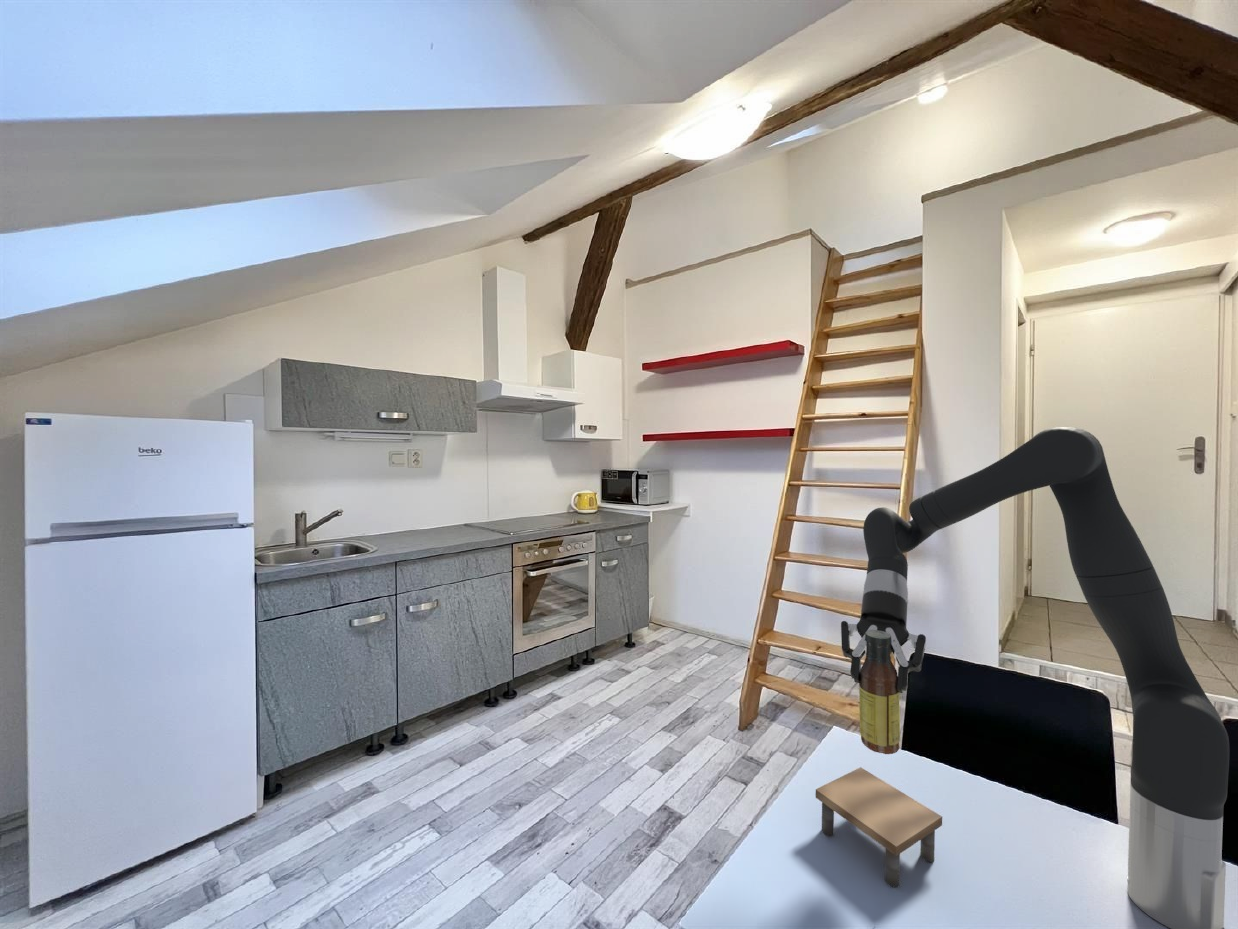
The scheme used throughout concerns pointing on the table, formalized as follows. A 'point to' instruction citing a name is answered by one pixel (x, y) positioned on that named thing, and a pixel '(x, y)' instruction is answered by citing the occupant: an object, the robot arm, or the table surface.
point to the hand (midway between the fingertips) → (877, 685)
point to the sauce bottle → (879, 696)
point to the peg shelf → (880, 816)
